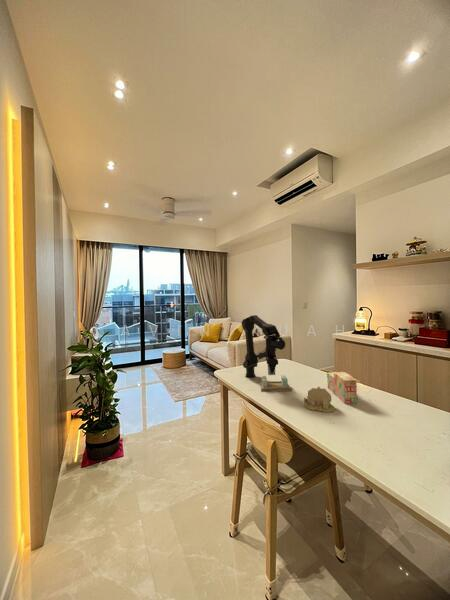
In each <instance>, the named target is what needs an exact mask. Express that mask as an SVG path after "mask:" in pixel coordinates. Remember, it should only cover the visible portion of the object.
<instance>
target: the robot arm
mask: <svg viewBox="0 0 450 600" xmlns="http://www.w3.org/2000/svg"><path fill="white" fill-rule="evenodd" d="M255 325H256V326H257V327H258V328H259V329H261V333H262V334H264V336H263V339H265V348H264V350H261V351H258V352H256V353H255V346H254V335H253V331H254V330H255V329H254V328H255ZM241 328H242V330H243V331H244V333H245V342H246V343H245V344H246V354H245V356H244V362H243V363H242V368H245V372H246V373H245V377H246V378H256V372H255V368H256V367H258V363H259V360H262V359H264V358H265V359H264V360H265V361H266V364H267V366H268V365H269V366H270V371H271V373H273V372H274V369H275V370H276V366H277V365H279V359H278V358H277V353H276V351H277V350H280V351H281V350H284V349H285V348H286V341H285V340H284V339H283V337H282V336H281V335H280V333H279V330H278V329H277V327H276V325H273V324H271V323H267V322H266V321H265V320H263V319H261V318H260V317H259V316H258V315H250V316H248V317H246V318H243V319H242V321H241Z"/></svg>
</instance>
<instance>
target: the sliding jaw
mask: <svg viewBox="0 0 450 600" xmlns="http://www.w3.org/2000/svg"><path fill="white" fill-rule="evenodd" d="M280 381H282V385H283V387H288V385H289V382H288V381H289V380H288V378H287V375H284V374H283V375H281V380H280Z"/></svg>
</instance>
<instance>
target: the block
mask: <svg viewBox="0 0 450 600" xmlns="http://www.w3.org/2000/svg"><path fill="white" fill-rule="evenodd" d="M267 374H268V376H276V368H275V369H274V372H273V373H271V371H270V366H269V365H268V364H267Z"/></svg>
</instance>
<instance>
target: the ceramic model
mask: <svg viewBox="0 0 450 600" xmlns="http://www.w3.org/2000/svg"><path fill="white" fill-rule="evenodd" d="M331 402H332V395H331V393H330V392H329V391H328V390H327V389H326V388H323V387H321V386H317V388H316V387H315V388H314V387H313V388H311V389H309V390H308V392H307V396H306V397H304V398H303V406H304V407H305V408H306V409H309V410H312V411H319V412H324V413H331V412H334V411H336V408H335V406H334V405H333V404H331Z"/></svg>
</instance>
